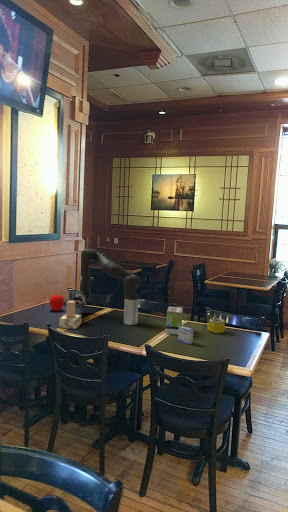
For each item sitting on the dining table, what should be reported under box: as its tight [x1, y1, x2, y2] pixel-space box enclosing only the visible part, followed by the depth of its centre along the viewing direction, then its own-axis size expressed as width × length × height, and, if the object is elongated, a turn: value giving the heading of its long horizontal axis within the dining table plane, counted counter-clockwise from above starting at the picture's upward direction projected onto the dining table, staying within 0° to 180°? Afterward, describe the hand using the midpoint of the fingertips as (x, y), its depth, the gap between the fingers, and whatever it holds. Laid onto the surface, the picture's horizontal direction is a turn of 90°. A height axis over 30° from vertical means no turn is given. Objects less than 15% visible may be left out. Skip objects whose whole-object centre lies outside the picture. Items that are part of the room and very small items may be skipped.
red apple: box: [48, 293, 65, 312], centre depth 279 cm, size 11×11×13 cm
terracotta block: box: [65, 300, 76, 318], centre depth 240 cm, size 5×5×10 cm
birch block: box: [58, 313, 82, 330], centre depth 241 cm, size 11×13×6 cm
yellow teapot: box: [206, 314, 226, 334], centre depth 240 cm, size 13×11×12 cm
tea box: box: [164, 306, 184, 335], centre depth 238 cm, size 15×10×15 cm, turn 171°
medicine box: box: [177, 325, 194, 345], centre depth 216 cm, size 8×4×9 cm, turn 45°
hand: (71, 305), depth 242 cm, fingers open, 8 cm apart
